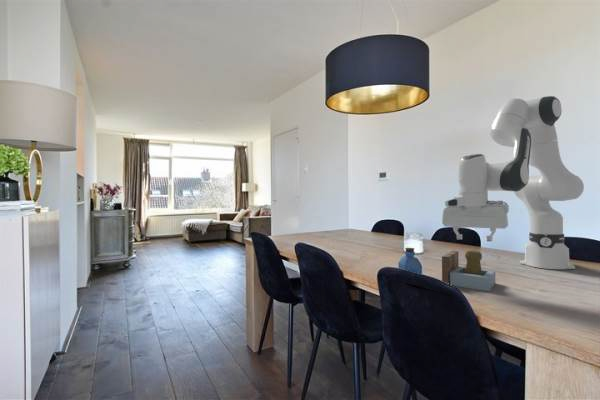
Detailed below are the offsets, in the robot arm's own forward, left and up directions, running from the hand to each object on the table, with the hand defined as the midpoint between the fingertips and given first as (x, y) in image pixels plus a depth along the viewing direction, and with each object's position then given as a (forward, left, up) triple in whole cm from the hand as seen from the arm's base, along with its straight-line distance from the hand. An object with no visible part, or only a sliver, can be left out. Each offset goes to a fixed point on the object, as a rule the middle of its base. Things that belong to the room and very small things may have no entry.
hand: (474, 240), depth 113 cm
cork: (0, 0, -15) cm, 15 cm away
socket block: (0, -1, -16) cm, 16 cm away
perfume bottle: (+8, -20, -16) cm, 27 cm away
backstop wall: (0, -8, -16) cm, 17 cm away
